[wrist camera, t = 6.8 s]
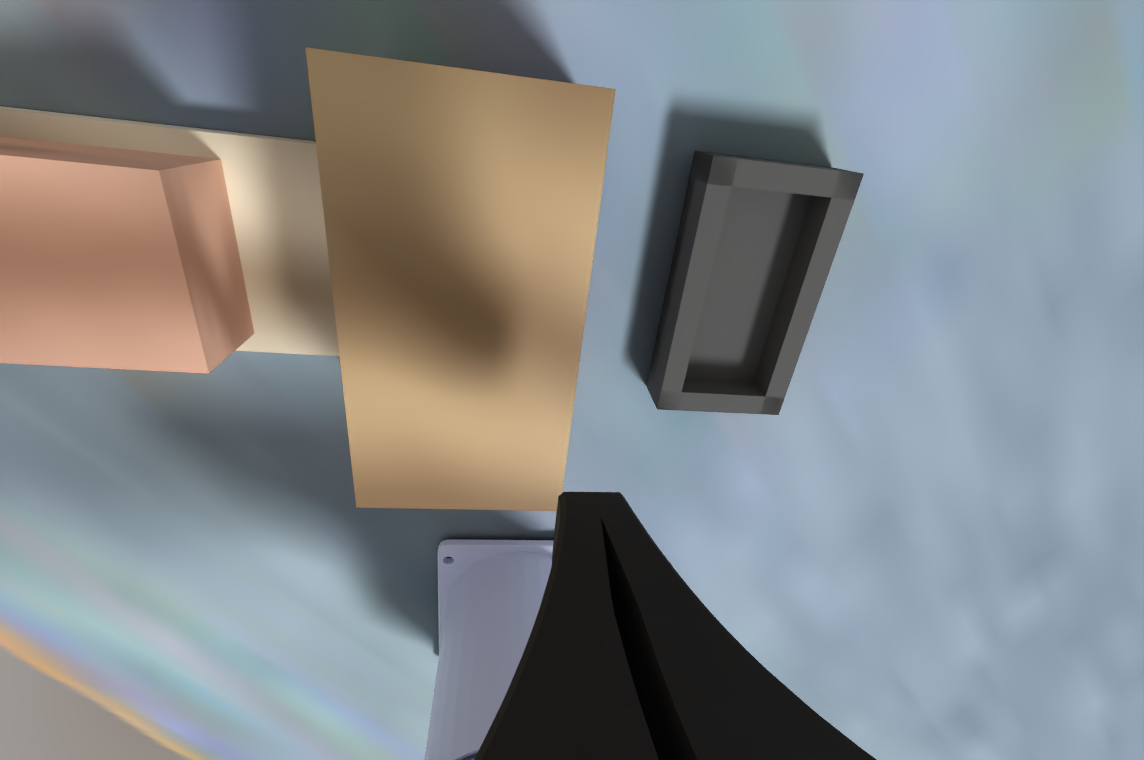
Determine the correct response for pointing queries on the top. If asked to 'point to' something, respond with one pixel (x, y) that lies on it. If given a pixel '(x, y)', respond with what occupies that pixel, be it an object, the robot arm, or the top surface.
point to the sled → (158, 245)
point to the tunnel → (457, 273)
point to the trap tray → (746, 281)
